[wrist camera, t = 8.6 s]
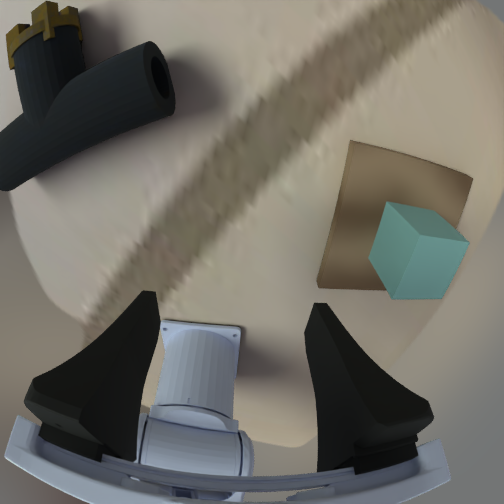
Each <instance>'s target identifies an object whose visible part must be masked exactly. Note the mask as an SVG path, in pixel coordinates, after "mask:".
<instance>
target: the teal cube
mask: <svg viewBox="0 0 504 504" xmlns="http://www.w3.org/2000/svg"><path fill="white" fill-rule="evenodd" d="M469 243H470V242H469V241H467V240H466V239H465V238H464V237H463V236H462V235H461V234H460V233H459V232H458V231H457V230H456V229H455V228H454V227H453V226H451V225H450V224H449V223H448V222H447V221H446V220H445V219H444V218H442V217H441V216H440V215H439V214H438V213H437V212H435V211H433V210H428V209H424V208H419V207H414V206H409V205H404V204H398V203H393V202H386V205H385V208H384V212H383V215H382V218H381V222H380V225H379V228H378V231H377V234H376V237H375V240H374V243H373V246H372V249H371V252H370V255H369V257H368V259H369V260H370V262H371V264H372V265H373V267H374V269H375V270H376V272H377V274H378V276H379V277H380V279H381V281H382V282H383V284H384V286H385V288H386V290H387V291H388V293H389V295H390V297H391V299H442V297H443V296H444V294H445V292H446V290H447V288H448V286H449V285H450V283H451V281H452V279H453V277H454V275H455V273H456V271H457V269H458V267H459V265H460V263H461V261H462V259H463V256H464V254H465V252H466V250H467V248H468V245H469Z"/></svg>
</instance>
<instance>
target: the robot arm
mask: <svg viewBox="0 0 504 504" xmlns="http://www.w3.org/2000/svg"><path fill="white" fill-rule="evenodd" d="M160 328H161V333H162V338H163V342H164V347H165V357H164V361H163V365H162V370H161V374H160V379H159V383H158V388H157V392H156V397H155V402H154V405H151V409H150V414H149V415H148V414H146V413H141V414H140V407H141V400H142V394H143V388H144V384H145V380H146V376H147V373H148V370H149V367H150V363H151V360H152V357H153V354H154V351H155V347H156V344H157V341H158V336H159V330H160ZM235 334H237V335H235ZM304 334H305V346H306V354H307V359H308V363H309V368H310V373H311V377H312V382H313V387H314V392H315V398H316V410H317V426H318V461H317V473H308V474H298V475H285V476H257V477H256V476H254V477H253V476H252V474H253V467H254V449H253V444H252V441H251V439H250V438H249V437H248V435H247V434H246V432H245V431H242V430H238V420H233V400H234V379H235V378H236V374H237V365H238V356H239V346H240V337H241V329H240V328H239V327H235V326H221V325H208V324H197V323H187V322H177V321H168V320H162V321H161V320H160V315H159V309H158V303H157V297H156V292H153V291H144V290H143V291H142V292H141V293H140V294H139V295H138V296H137V297H136V299H135V300H134V301H133V302H132V303H131V304H130V305H129V306H128V307H127V309H126V310H125V311H124V312H123V313H122V314H121V315H120V316H119V317H118V318H117V319H116V320H115V321H114V322H113V323H112V324H111V325H110V326H109V327H108V328H107V329H106V330H105V331H104V332H103V333H102V334H101V335H100V336H99V337H98V338H97V339H96V340H94V341H93V342H92V343H91V344H90V345H88V346H87V347H86V348H85V349H83V350H82V351H80V352H79V353H78V354H76V355H75V356H74V357H72V358H71V359H69V360H68V361H66V362H64V363H63V364H61V365H59V366H57V367H56V368H54V369H52V370H50V371H48V372H46V373H44V374H42V375H39V376H37V377H35V378H34V379H33V380H32V383H31V385H30V387H29V389H28V392H27V394H26V396H25V399H24V404H25V406H26V407H27V408H28V409H29V410H30V411H31V412H32V413H33V414H34V415H35V416H36V417H37V418H39V419H40V420H41V421H42V425H41V427H40V426H39V425H37V424H35V423H33V422H32V421H30V420H28V419H26V418H24V417H22V416H20V415H18V416H17V418H16V421H15V424H14V427H13V430H12V432H11V435H10V439H9V442H8V445H7V448H6V452H5V455H4V456H5V458H6V459H8V460H9V461H11V462H12V463H14V464H15V465H17V466H18V467H20V468H22V469H24V470H25V471H27V472H28V473H30V474H32V475H33V476H35V477H37V478H38V479H40V480H42V481H44V482H46V483H48V484H50V485H51V486H53V487H55V488H57V489H59V490H61V491H63V492H65V493H67V494H70V495H72V496H74V497H76V498H78V499H81V500H83V501H85V502H88V503H90V504H400V503H402V502H405V501H407V500H410V499H412V498H414V497H417V496H419V495H421V494H423V493H425V492H428V491H430V490H432V489H434V488H436V487H438V486H440V485H442V484H444V483H446V482H448V481H450V480H451V475H450V471H449V468H448V464H447V460H446V457H445V453H444V450H443V447H442V443H441V440H440V439H439V438H438V439H435V440H433V441H430V442H427V443H425V444H422V445H420V446H418V447H416V445H415V442H417V441H418V437H417V433H419V432H420V431H421V430H423V429H424V428H425V427H427V426H428V425H429V424H430V423H431V422H432V421H433V419H434V415H433V413H432V410H431V407H430V404H429V402H428V401H427V400H426V399H424V398H422V397H420V396H418V395H417V394H415V393H413V392H412V391H410V390H409V389H407V388H405V387H404V386H403V385H401V384H400V383H399V382H397V381H396V380H395V379H393V378H392V377H391V376H390V375H388V374H387V373H386V372H385V371H384V370H383V369H381V368H380V367H379V366H378V365H377V364H376V363H375V362H374V361H373V360H372V359H371V358H370V357H369V356H368V355H367V354H366V353H365V352H364V351H363V349H362V348H361V347H360V346H359V345H358V344H357V343H356V341H355V340H354V339H353V338H352V336H351V335H350V334H349V333H348V331H347V330H346V329H345V327H344V326H343V325H342V323H341V322H340V321H339V319H338V318H337V317H336V315H335V314H334V312H333V311H332V310H331V308H330V307H329V306H328V304H327V303H314V305H313V308H312V311H311V314H310V317H309V320H308V323H307V326H306V329H305V332H304ZM318 487H323V488H319V489H313V490H307V491H301V492H297V493H296V495H293V496H289V497H287V498H286V499H287V501H279V502H243V499H244V495H245V492H276V491H290V490H302V489H310V488H318Z"/></svg>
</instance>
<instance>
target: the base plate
mask: <svg viewBox="0 0 504 504" xmlns="http://www.w3.org/2000/svg"><path fill="white" fill-rule="evenodd" d="M472 181H473V178H471V177H470V176H468V175H466V174H464V173H461V172H458V171H456V170H453V169H450V168H447V167H445V166H442V165H439V164H436V163H433V162H430V161H427V160H424V159H420V158H417V157H414V156H410V155H407V154H404V153H400V152H396V151H393V150H389V149H385V148H381V147H377V146H373V145H369V144H365V143H360V142H356V141H351V140H350V144H349V149H348V154H347V159H346V164H345V169H344V174H343V178H342V183H341V187H340V192H339V196H338V201H337V205H336V209H335V213H334V217H333V221H332V225H331V229H330V233H329V237H328V241H327V245H326V248H325V252H324V256H323V259H322V263H321V267H320V270H319V274H318V277H317V280H316V281H317V284H318V287H319V288H328V289H355V290H386V288H385V286H384V284H383V282H382V281H381V279H380V277H379V276H378V274H377V272H376V270H375V269H374V267H373V265H372V264H371V262H370V260H369V259H368V257H369V255H370V252H371V249H372V246H373V243H374V240H375V237H376V234H377V231H378V228H379V225H380V222H381V218H382V215H383V212H384V208H385V205H386V202H393V203H398V204H404V205H409V206H414V207H419V208H424V209H428V210H433V211H435V212H437V213H438V214H439V215H440V216H441V217H442V218H444V219H445V220H446V221H447V222H448V223H449V224H450V225H451V226H453V227H454V228H455V229H456V228H457V225H458V223H459V220H460V217H461V214H462V212H463V209H464V206H465V203H466V200H467V197H468V194H469V191H470V188H471V184H472Z"/></svg>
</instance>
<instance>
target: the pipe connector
mask: <svg viewBox="0 0 504 504" xmlns="http://www.w3.org/2000/svg"><path fill="white" fill-rule="evenodd" d="M31 14H32V25H31V26H30V24H17V25H16V26H15V27H14V28H13V29H12V30H10V31H9V32H8V33H7V34H6V42H7V52H8V60H9V67H10V70H12V69H15V75H16V81H17V86H18V91H19V96H20V100H21V104H22V108H23V112H24V113H22V114H21V115H20V116H19V117H17V118H16V119H15V120H14V121H13V122H11V123H10V124H9V125H8V126H7V127H6V128H4V129H3V130H2V131H1V132H0V190H2V191H11V190H13V189H15V188H16V187H18V186H19V185H21V184H23V183H24V182H26V181H27V180H29V179H31V178H32V177H34V176H36V175H37V174H39V173H41V172H43V171H44V170H46V169H48V168H50V167H52V166H53V165H55V164H57V163H59V162H61V161H63V160H65V159H67V158H68V157H70V156H72V155H74V154H76V153H78V152H81V151H83V150H85V149H87V148H89V147H91V146H93V145H96V144H98V143H100V142H102V141H105V140H107V139H109V138H112V137H114V136H116V135H119V134H121V133H124V132H126V131H129V130H131V129H134V128H137V127H139V126H142V125H145V124H148V123H150V122H153V121H156V120H159V119H162V118H165V117H168V116H171V115H172V114H173V113H174V110H175V93H174V89H173V85H172V81H171V78H170V74H169V70H168V66H167V63H166V60H165V58H164V56H163V54H162V52H161V51H160V49H159V48H158V46H157V45H156V44H155V43H153V42H151V41H148V42H146V43H143V44H141V45H138V46H136V47H133V48H131V49H129V50H127V51H124V52H122V53H120V54H118V55H116V56H114V57H111V58H109V59H107V60H105V61H103V62H101V63H100V64H98V65H96V66H94V67H92V68H90V69H88V70H87V71H86V69H85V64H84V60H83V55H82V51H81V46H80V42H81V41H83V38H82V33H81V27H80V21H79V15H78V8H74V7H71V6H67V7H66V8H64V9H63V10H61V11H60V12H59V11H58V3H55V2H51V1H45V2H44V3H42V4H41V5H40V6H39V7H37V8H36V9H35V10H33V11H32V12H31Z"/></svg>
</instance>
